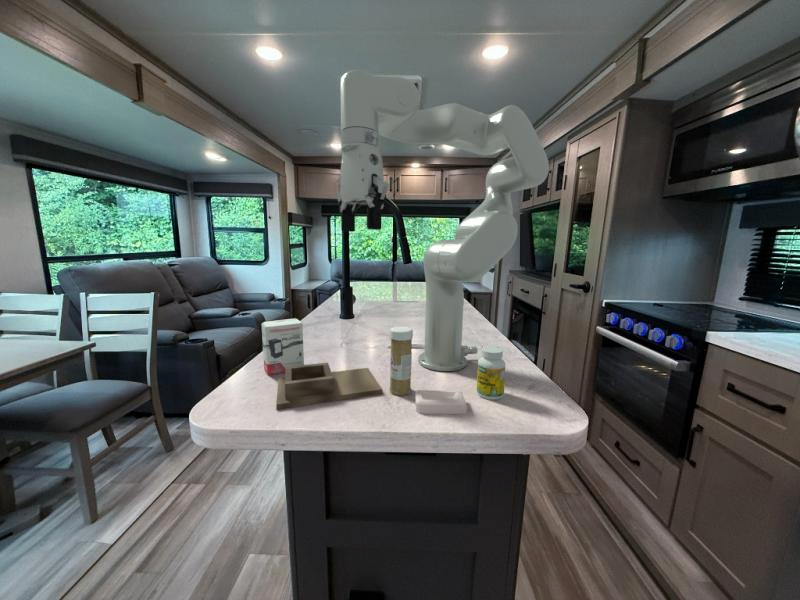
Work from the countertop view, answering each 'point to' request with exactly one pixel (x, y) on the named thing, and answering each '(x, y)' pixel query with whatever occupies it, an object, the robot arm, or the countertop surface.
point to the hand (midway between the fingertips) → (360, 230)
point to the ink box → (282, 345)
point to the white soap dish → (440, 402)
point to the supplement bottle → (491, 374)
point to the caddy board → (323, 385)
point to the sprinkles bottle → (400, 360)
